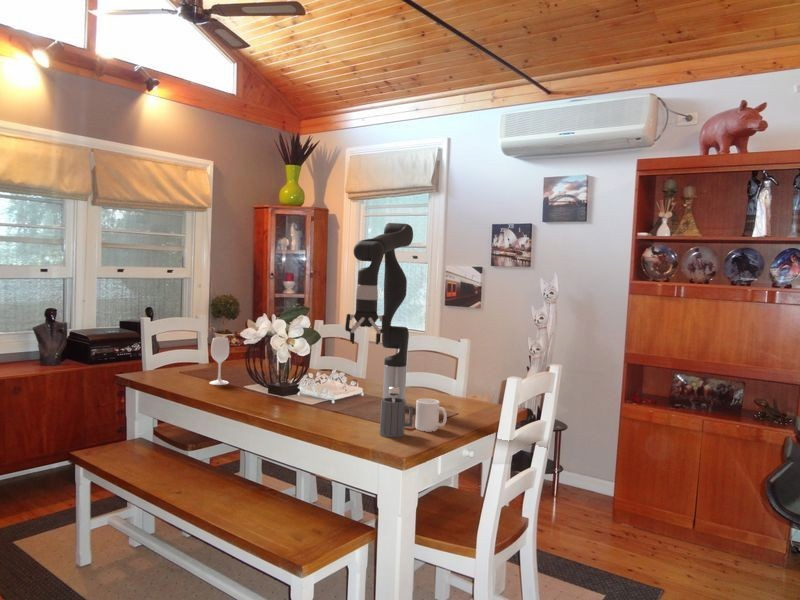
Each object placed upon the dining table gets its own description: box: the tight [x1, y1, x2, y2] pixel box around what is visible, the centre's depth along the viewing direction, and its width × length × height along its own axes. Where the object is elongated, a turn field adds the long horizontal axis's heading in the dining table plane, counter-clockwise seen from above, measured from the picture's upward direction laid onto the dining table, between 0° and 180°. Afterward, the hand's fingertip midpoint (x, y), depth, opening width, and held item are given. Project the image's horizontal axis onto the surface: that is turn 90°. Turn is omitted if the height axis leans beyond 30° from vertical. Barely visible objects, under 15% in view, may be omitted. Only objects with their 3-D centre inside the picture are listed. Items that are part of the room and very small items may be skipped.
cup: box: [414, 398, 448, 433], centre depth 211 cm, size 8×12×10 cm
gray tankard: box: [379, 397, 414, 439], centre depth 203 cm, size 8×11×12 cm
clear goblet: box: [389, 386, 399, 402], centre depth 202 cm, size 5×5×12 cm
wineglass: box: [209, 336, 230, 386], centre depth 271 cm, size 9×9×21 cm
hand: (364, 343), depth 207 cm, fingers open, 8 cm apart
